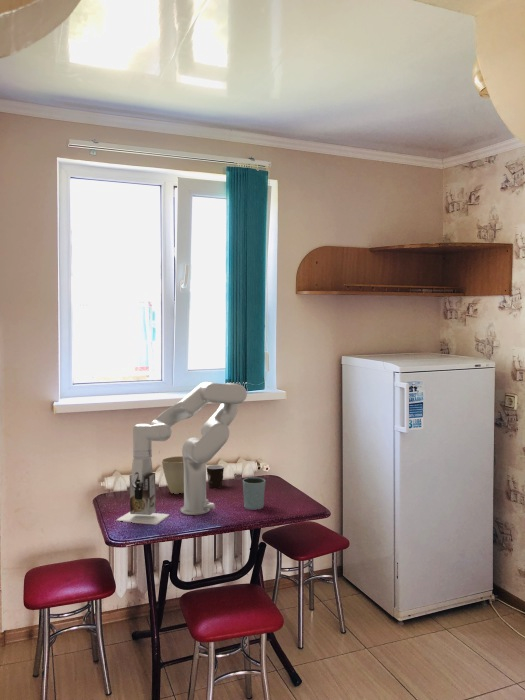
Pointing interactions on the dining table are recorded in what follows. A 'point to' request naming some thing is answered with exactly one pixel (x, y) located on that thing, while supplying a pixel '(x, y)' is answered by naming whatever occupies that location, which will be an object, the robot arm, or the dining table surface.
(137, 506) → the coffee box
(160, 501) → the dining table surface
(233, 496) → the dining table surface
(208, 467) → the coffee mug
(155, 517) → the mat
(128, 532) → the dining table surface
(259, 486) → the teal cup
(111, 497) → the dining table surface
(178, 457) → the plant pot
